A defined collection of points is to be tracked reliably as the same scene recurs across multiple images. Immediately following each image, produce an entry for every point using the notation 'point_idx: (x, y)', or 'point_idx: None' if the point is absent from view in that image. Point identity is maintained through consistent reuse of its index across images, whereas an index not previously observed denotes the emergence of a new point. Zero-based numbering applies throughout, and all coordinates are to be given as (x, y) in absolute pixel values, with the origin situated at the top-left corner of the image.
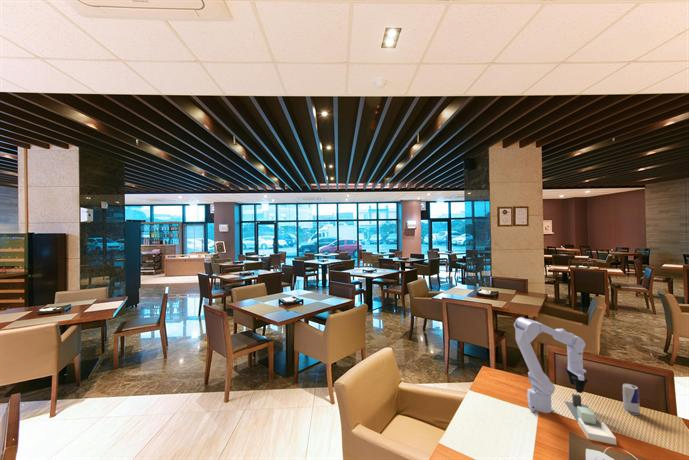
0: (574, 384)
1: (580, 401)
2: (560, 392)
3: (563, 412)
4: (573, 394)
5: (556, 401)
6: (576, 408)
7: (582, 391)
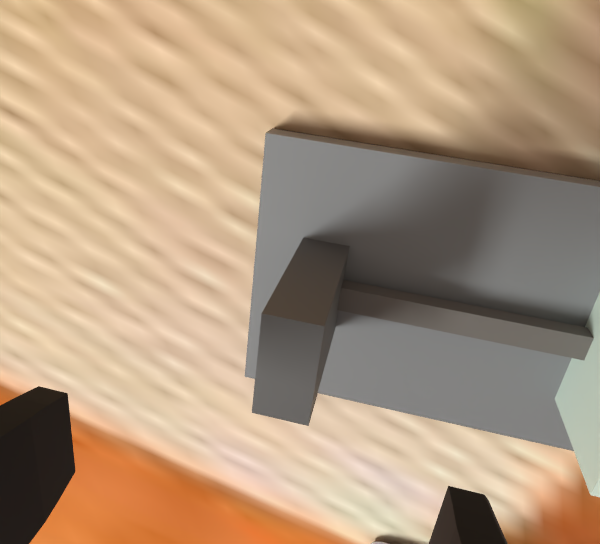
0: (64, 421)
1: (336, 292)
2: (6, 281)
3: (467, 473)
4: (265, 401)
5: (241, 424)
6: (395, 327)
7: (498, 536)
